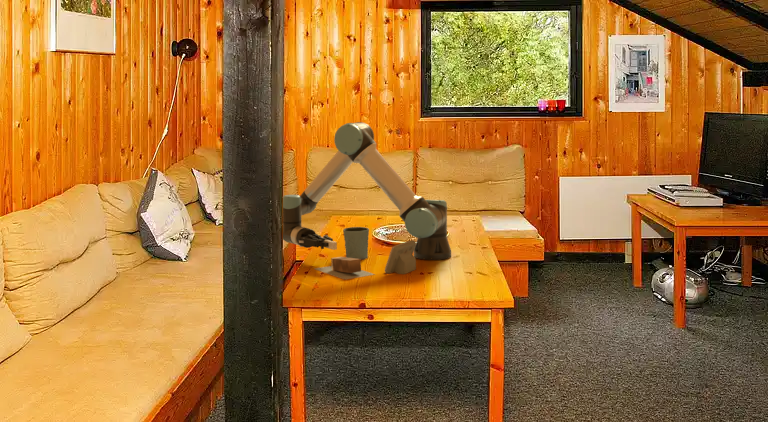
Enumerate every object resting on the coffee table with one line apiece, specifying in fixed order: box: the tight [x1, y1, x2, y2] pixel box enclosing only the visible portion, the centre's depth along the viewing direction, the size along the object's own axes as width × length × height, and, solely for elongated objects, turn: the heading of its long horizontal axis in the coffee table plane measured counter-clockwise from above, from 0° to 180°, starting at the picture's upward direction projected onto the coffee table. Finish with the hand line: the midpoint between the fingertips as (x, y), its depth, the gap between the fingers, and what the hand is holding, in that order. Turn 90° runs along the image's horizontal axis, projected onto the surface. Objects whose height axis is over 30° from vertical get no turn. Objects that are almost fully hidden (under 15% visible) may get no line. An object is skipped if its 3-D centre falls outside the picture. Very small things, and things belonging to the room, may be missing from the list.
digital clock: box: [384, 239, 417, 275], centre depth 300 cm, size 16×9×11 cm, turn 138°
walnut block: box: [330, 256, 362, 273], centre depth 297 cm, size 4×4×13 cm
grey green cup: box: [342, 226, 370, 261], centre depth 323 cm, size 10×10×12 cm
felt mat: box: [314, 265, 376, 280], centre depth 299 cm, size 22×13×1 cm, turn 35°
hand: (334, 245), depth 301 cm, fingers closed
